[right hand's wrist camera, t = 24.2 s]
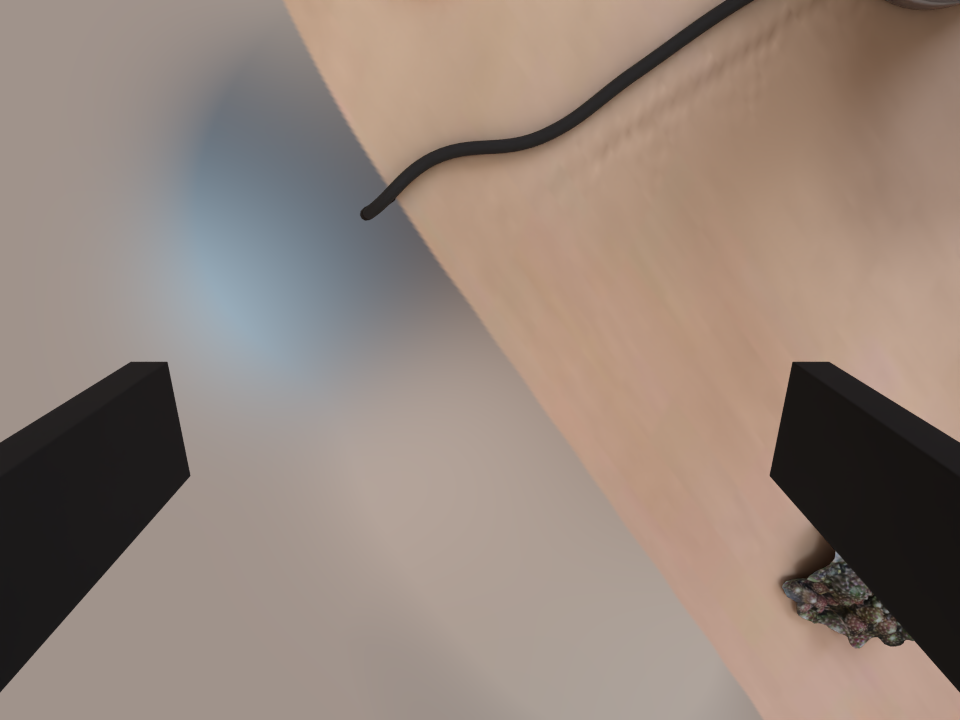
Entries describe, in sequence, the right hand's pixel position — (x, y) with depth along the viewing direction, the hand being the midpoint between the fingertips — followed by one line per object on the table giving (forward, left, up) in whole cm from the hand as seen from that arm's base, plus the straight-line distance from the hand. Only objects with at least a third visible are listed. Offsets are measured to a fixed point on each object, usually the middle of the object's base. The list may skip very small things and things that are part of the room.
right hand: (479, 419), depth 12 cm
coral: (+4, -51, -36) cm, 63 cm away
